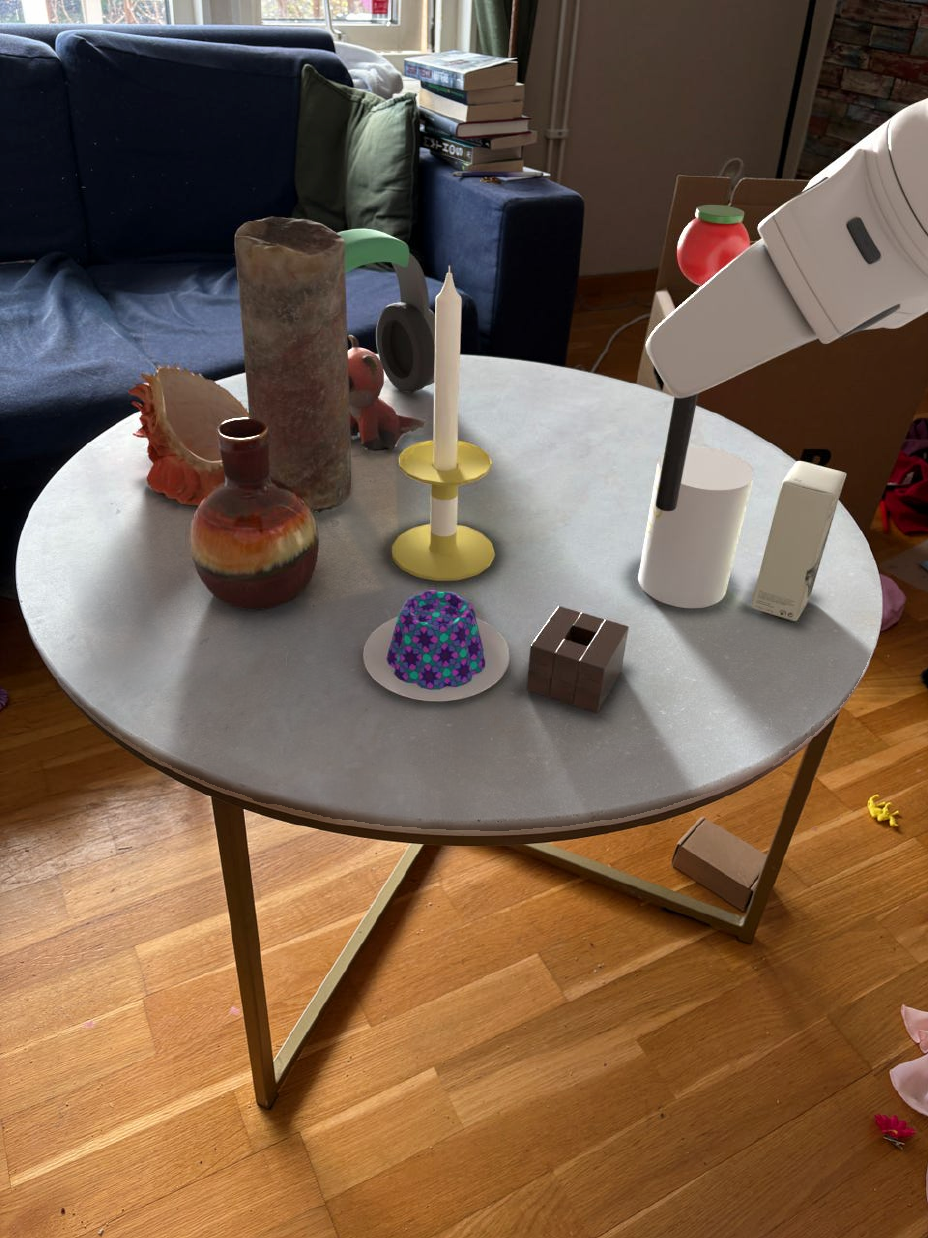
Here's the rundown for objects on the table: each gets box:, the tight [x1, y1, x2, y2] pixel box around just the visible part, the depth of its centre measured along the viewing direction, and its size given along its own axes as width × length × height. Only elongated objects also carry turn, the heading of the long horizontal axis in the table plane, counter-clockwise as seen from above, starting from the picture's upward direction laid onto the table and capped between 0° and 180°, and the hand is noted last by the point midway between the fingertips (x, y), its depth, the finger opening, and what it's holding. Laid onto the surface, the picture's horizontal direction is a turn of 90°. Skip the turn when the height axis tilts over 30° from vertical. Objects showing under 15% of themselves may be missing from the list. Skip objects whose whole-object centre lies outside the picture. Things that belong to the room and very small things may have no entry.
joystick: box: [655, 204, 751, 511], centre depth 57 cm, size 4×4×19 cm
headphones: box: [337, 228, 436, 393], centre depth 114 cm, size 19×11×20 cm, turn 126°
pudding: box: [362, 589, 511, 702], centre depth 76 cm, size 12×12×5 cm
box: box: [750, 460, 847, 622], centre depth 82 cm, size 5×4×13 cm
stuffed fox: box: [347, 334, 428, 452], centre depth 106 cm, size 8×11×12 cm
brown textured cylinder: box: [234, 216, 353, 513], centre depth 90 cm, size 10×10×27 cm
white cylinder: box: [637, 445, 755, 609], centre depth 84 cm, size 8×8×12 cm
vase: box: [189, 418, 320, 611], centre depth 81 cm, size 11×11×15 cm
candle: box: [391, 265, 496, 582], centre depth 83 cm, size 10×10×27 cm
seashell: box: [127, 362, 249, 506], centre depth 100 cm, size 17×11×15 cm
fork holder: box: [526, 605, 630, 714], centre depth 75 cm, size 6×6×4 cm
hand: (682, 368), depth 58 cm, fingers closed on joystick
